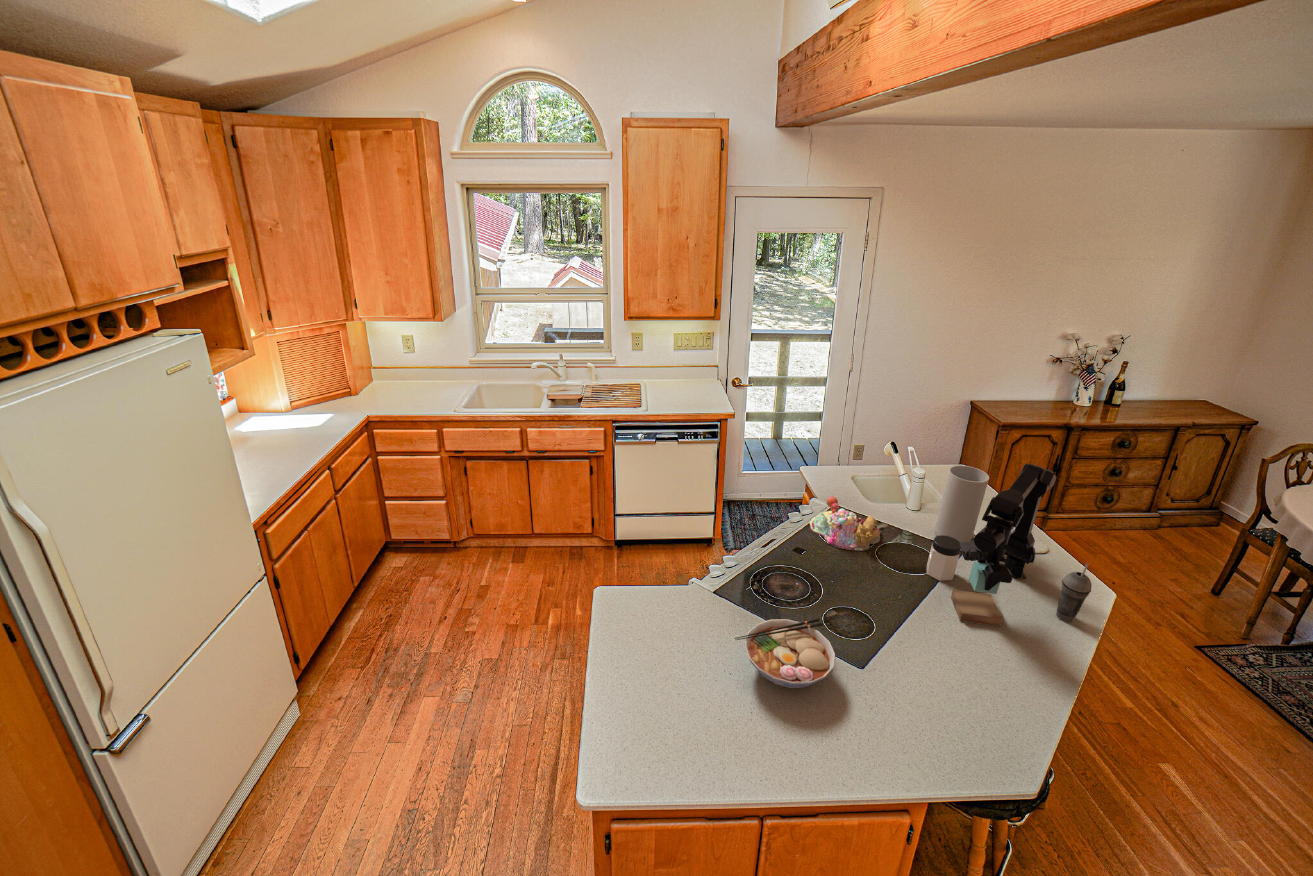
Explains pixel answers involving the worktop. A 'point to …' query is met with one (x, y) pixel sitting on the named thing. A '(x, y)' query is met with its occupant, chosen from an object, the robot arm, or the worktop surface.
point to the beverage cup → (1073, 595)
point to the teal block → (980, 578)
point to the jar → (943, 558)
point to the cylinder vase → (961, 502)
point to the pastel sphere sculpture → (845, 528)
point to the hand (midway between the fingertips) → (983, 583)
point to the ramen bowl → (789, 652)
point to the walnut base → (976, 608)
